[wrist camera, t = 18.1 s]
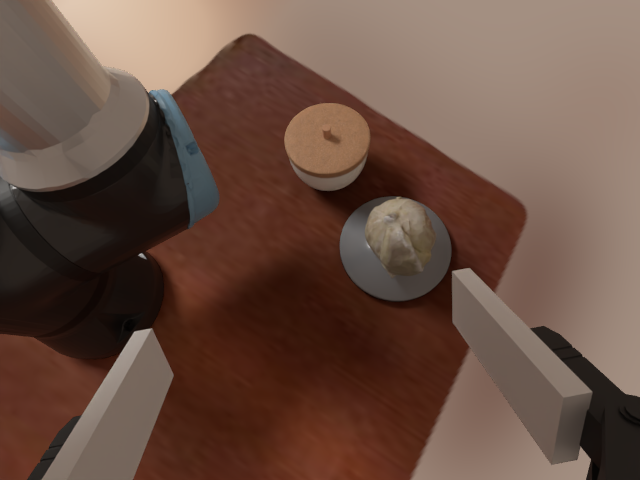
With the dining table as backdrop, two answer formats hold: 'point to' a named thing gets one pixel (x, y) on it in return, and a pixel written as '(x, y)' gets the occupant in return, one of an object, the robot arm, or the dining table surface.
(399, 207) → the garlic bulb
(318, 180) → the lidded jar
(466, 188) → the dining table surface
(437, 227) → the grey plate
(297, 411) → the dining table surface
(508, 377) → the robot arm
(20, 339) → the dining table surface
